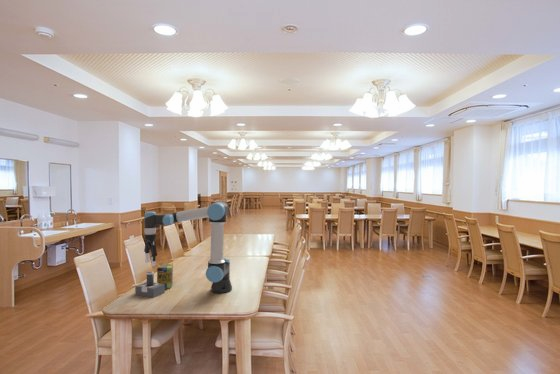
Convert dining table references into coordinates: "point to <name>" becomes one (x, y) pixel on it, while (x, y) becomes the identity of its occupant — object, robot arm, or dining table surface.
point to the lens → (150, 279)
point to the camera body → (150, 290)
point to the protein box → (165, 274)
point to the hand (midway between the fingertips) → (150, 264)
